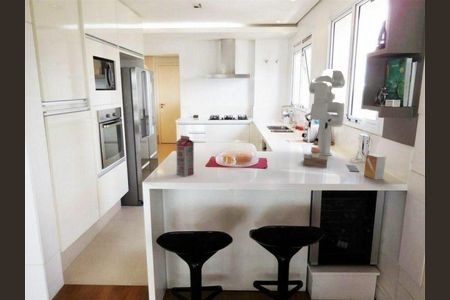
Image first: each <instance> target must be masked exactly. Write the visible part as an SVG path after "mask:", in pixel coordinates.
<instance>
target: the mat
mask: <svg viewBox="0 0 450 300" xmlns="http://www.w3.org/2000/svg"><path fill="white" fill-rule="evenodd" d="M346 168H347V169H348V171H349V172H350V173H351V172H352V173H360V170H359V168H357V166H356V165H355V164H354V165H353V164H346Z"/></svg>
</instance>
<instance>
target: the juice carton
mask: <svg viewBox="0 0 450 300" xmlns="http://www.w3.org/2000/svg"><path fill="white" fill-rule="evenodd" d="M175 144H176V175H177V176H180V177H183V178H187V177H190V176H193V175H194V172H195V171H194V164H195V161H194V159H195V157H194V155H195V153H194V151H195V150H194V146H195V142H194V141H193V140H191V139H190V136H187V135H180V138H179V139H178V140H177V141H176V143H175Z"/></svg>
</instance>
